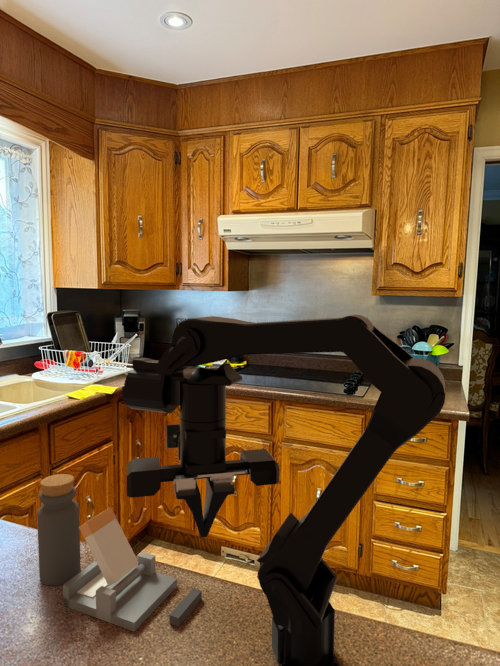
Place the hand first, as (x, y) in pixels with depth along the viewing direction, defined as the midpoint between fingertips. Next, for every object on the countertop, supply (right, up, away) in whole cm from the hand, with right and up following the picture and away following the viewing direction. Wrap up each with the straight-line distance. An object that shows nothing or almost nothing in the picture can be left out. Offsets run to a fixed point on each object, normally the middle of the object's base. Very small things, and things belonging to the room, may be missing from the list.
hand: (203, 535), depth 59 cm
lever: (-11, -9, +6) cm, 16 cm away
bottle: (-23, -11, +11) cm, 28 cm away
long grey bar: (-3, -12, +3) cm, 13 cm away
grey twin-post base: (-11, -11, +6) cm, 17 cm away
